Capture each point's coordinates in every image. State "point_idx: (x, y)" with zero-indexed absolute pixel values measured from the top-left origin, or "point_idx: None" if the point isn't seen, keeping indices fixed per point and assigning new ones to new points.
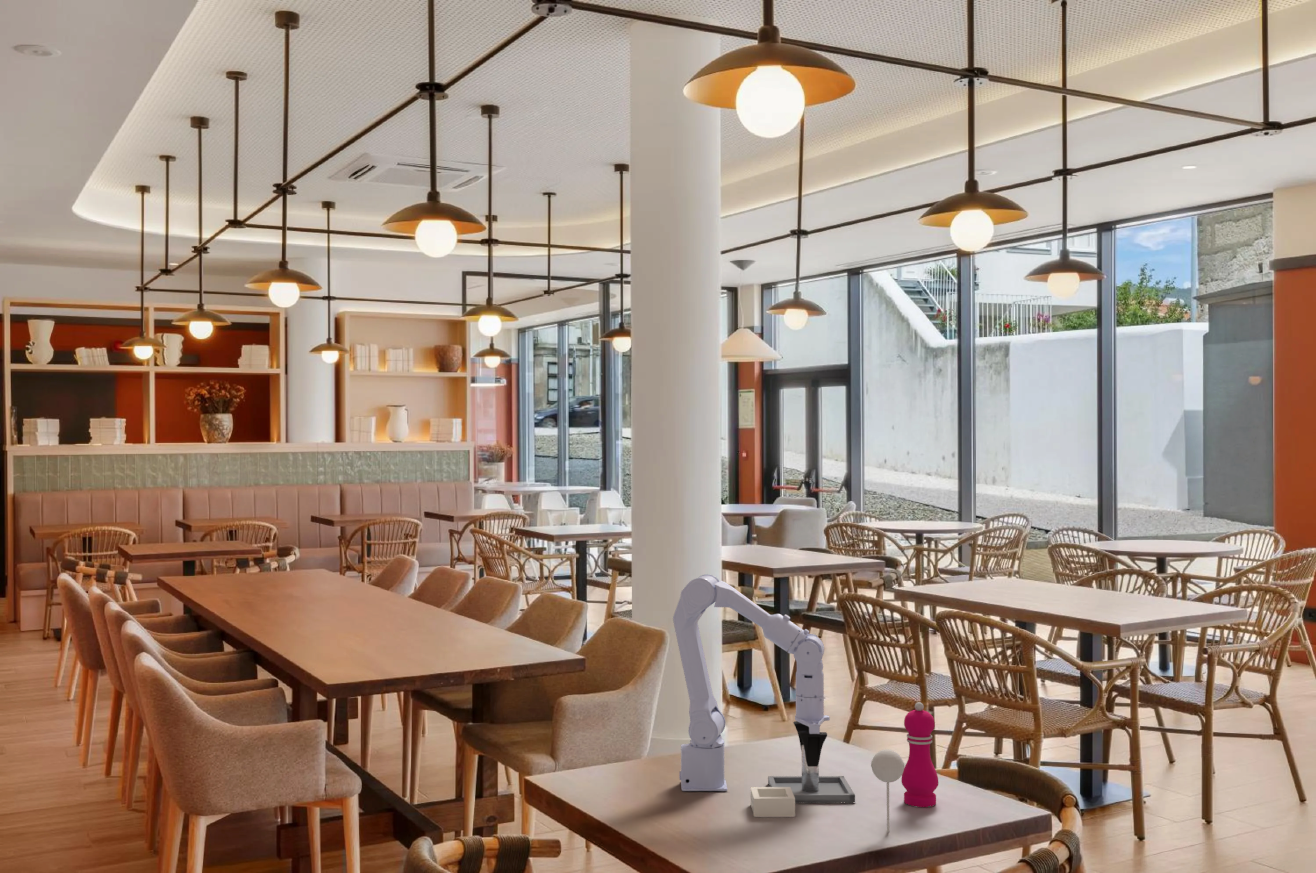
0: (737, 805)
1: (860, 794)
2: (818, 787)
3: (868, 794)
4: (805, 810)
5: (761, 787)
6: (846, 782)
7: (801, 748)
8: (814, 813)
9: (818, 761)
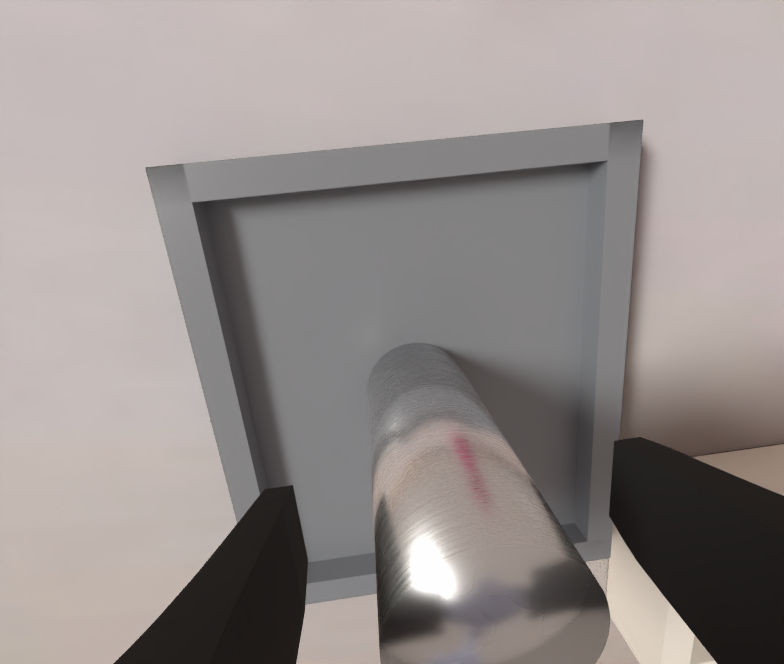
0: (607, 646)
1: (421, 70)
2: (436, 351)
3: (417, 6)
4: (706, 401)
5: (670, 651)
6: (332, 157)
7: (294, 649)
8: (757, 362)
9: (684, 458)
